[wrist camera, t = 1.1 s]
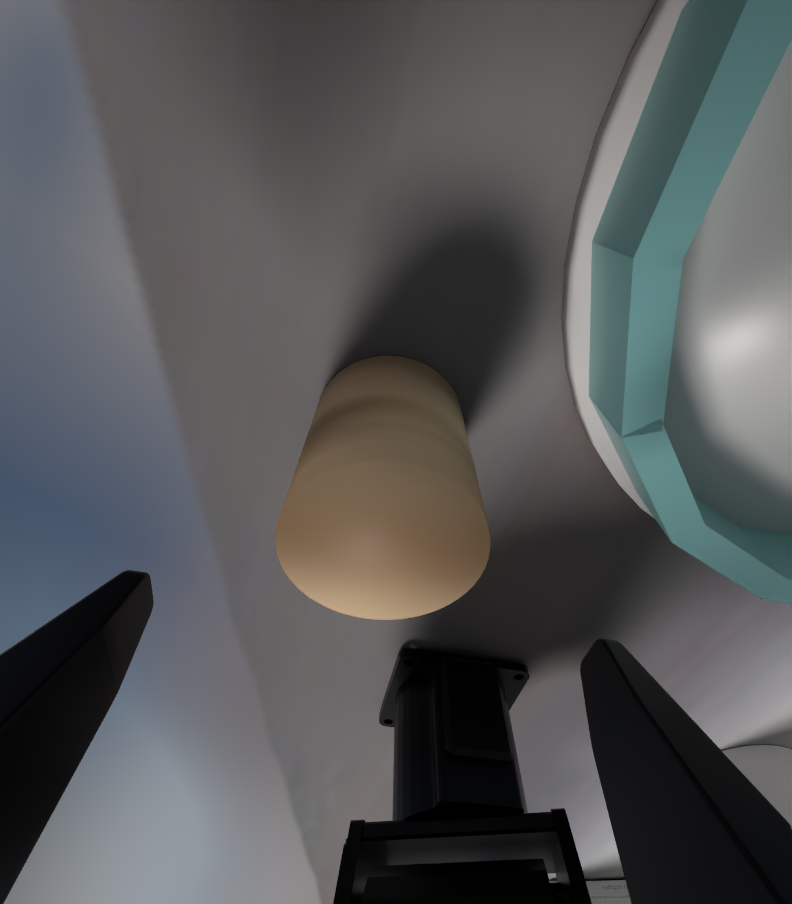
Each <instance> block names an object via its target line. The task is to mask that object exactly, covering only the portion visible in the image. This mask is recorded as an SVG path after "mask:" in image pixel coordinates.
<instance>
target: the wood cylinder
mask: <svg viewBox="0 0 792 904" xmlns="http://www.w3.org/2000/svg"><path fill="white" fill-rule="evenodd" d="M275 547H276V552H277V556H278V559H279V561H280V564H281V566H282V568H283V569H284V571H285V573H286V575H287V576H288V577H289V578H290V580H291V581H292V582H293V583H294V584H295V585H296V586H297V587H298V588H299V589H300V590H301V591H302V592H303V593H305V594H306V595H307V596H308V597H310V598H311V599H313V600H315V601H316V602H318V603H319V604H321V605H323V606H326V607H328V608H330V609H332V610H335V611H338V612H340V613H343V614H347V615H351V616H355V617H360V618H366V619H376V620H395V619H405V618H412V617H417V616H421V615H425V614H428V613H431V612H434V611H436V610H439V609H441V608H443V607H445V606H447V605H449V604H451V603H453V602H454V601H456V600H457V599H459V598H460V597H461V596H463V595H464V594H465V593H467V592H468V591H469V590H470V589H471V588H472V587H473V586H474V585H475V583H476V582H477V581H478V579H479V578H480V577H481V575H482V573H483V571H484V569H485V567H486V565H487V562H488V559H489V554H490V548H491V544H490V533H489V528H488V524H487V519H486V515H485V511H484V506H483V502H482V498H481V493H480V489H479V485H478V480H477V476H476V472H475V467H474V463H473V459H472V454H471V450H470V446H469V441H468V437H467V432H466V428H465V424H464V419H463V415H462V411H461V406H460V403H459V400H458V398H457V395H456V394H455V392H454V390H453V388H452V387H451V386H450V384H449V383H448V382H447V380H446V379H445V378H444V377H443V376H441V375H440V374H439V373H438V372H437V371H435V370H434V369H433V368H431V367H429V366H427V365H426V364H424V363H421V362H419V361H416V360H414V359H410V358H406V357H400V356H376V357H371V358H367V359H363V360H360V361H358V362H355V363H353V364H351V365H350V366H348V367H346V368H345V369H343V370H342V371H341V372H339V373H338V374H337V375H336V376H335V377H334V378H333V379H332V380H331V381H330V382H329V384H328V385H327V386H326V388H325V390H324V392H323V393H322V395H321V398H320V401H319V404H318V406H317V409H316V412H315V415H314V418H313V421H312V424H311V427H310V430H309V433H308V435H307V438H306V441H305V444H304V447H303V450H302V453H301V456H300V459H299V461H298V464H297V467H296V470H295V473H294V476H293V479H292V482H291V485H290V487H289V490H288V493H287V496H286V499H285V502H284V505H283V508H282V511H281V514H280V516H279V519H278V522H277V526H276V532H275Z"/></svg>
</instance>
